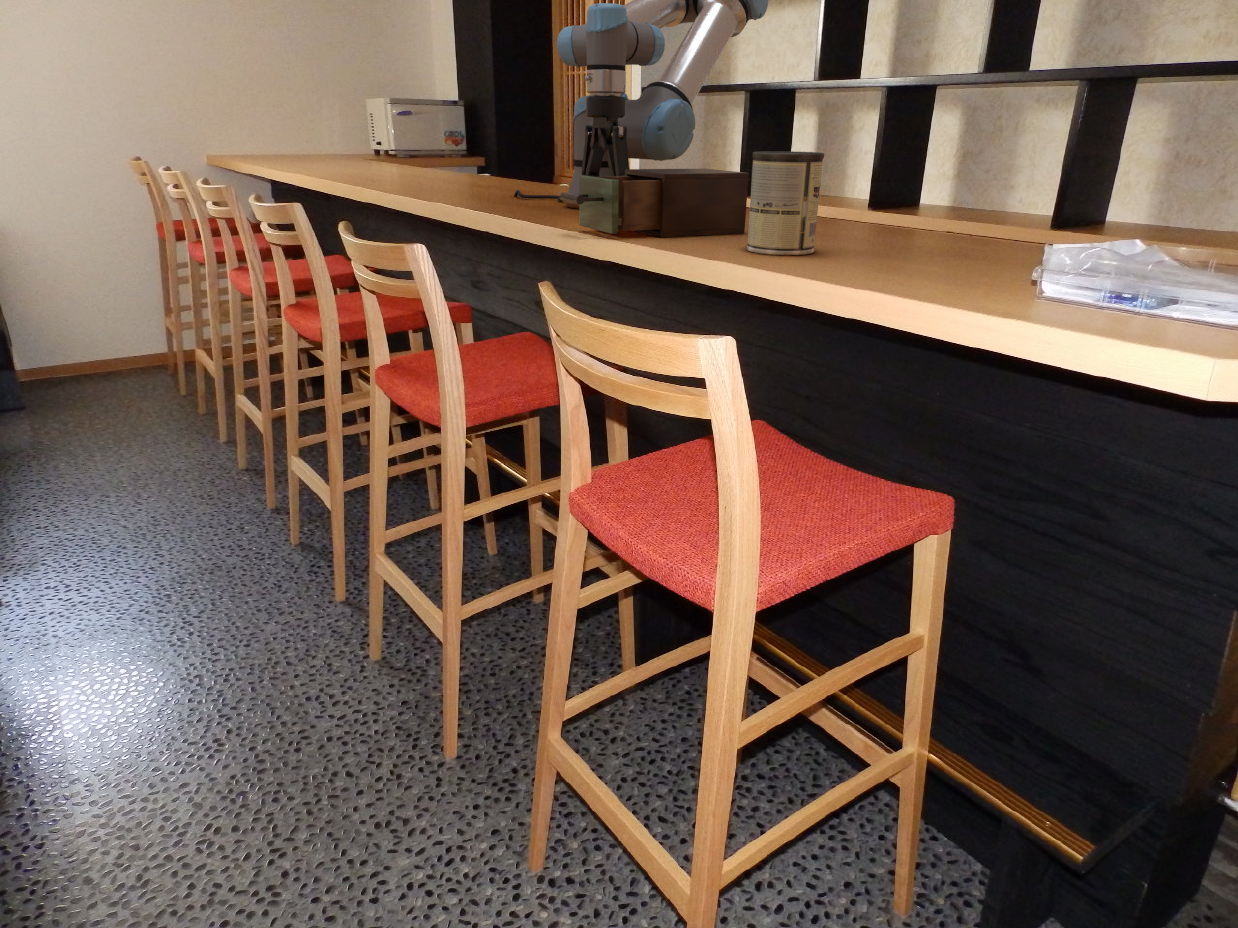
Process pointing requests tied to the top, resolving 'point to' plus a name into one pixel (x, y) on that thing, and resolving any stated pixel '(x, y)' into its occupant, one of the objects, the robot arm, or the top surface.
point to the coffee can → (784, 202)
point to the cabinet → (699, 201)
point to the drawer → (618, 203)
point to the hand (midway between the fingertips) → (604, 215)
